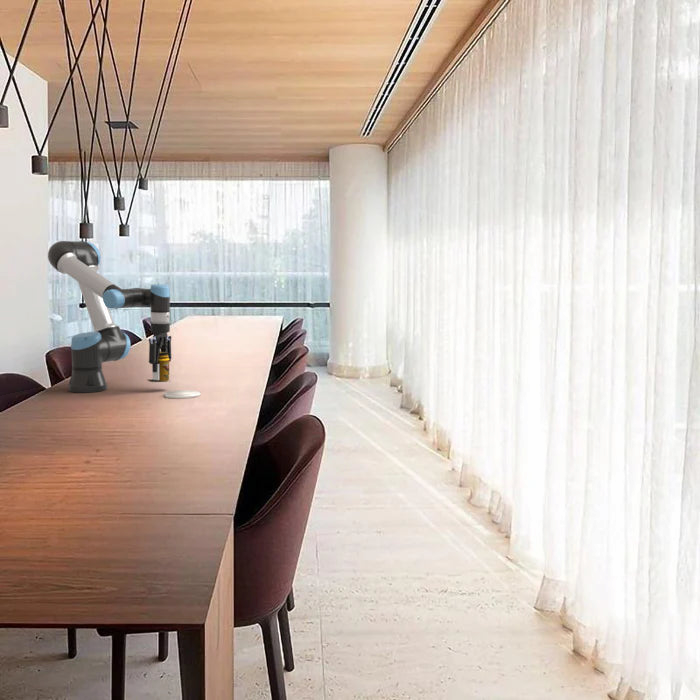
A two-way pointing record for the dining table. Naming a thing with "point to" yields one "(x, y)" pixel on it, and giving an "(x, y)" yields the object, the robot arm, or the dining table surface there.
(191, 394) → the plate
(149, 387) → the dining table surface
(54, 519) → the dining table surface
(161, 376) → the condiment
